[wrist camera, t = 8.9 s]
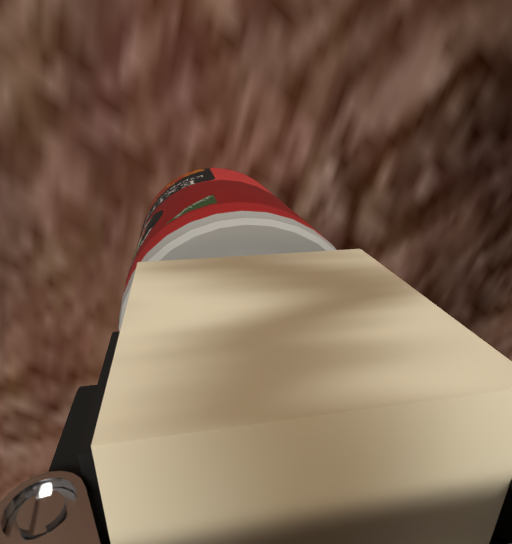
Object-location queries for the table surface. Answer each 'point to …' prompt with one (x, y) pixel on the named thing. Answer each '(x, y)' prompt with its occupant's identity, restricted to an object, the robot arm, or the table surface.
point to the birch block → (299, 408)
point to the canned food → (219, 222)
